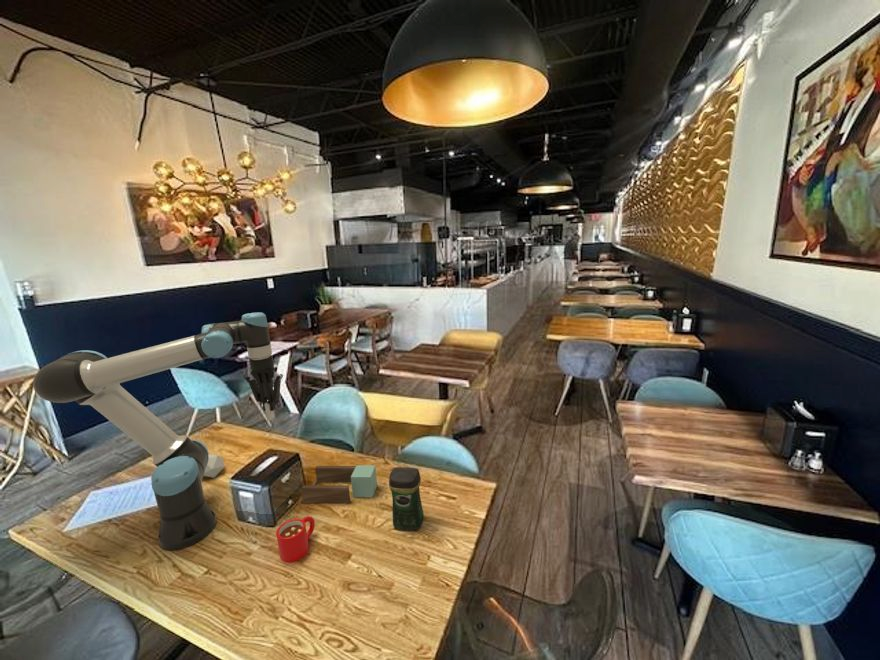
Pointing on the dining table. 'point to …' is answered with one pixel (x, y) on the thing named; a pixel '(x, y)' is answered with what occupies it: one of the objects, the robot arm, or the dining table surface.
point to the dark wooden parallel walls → (329, 491)
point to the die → (214, 465)
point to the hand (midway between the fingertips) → (271, 418)
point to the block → (364, 481)
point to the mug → (294, 538)
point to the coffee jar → (406, 498)
